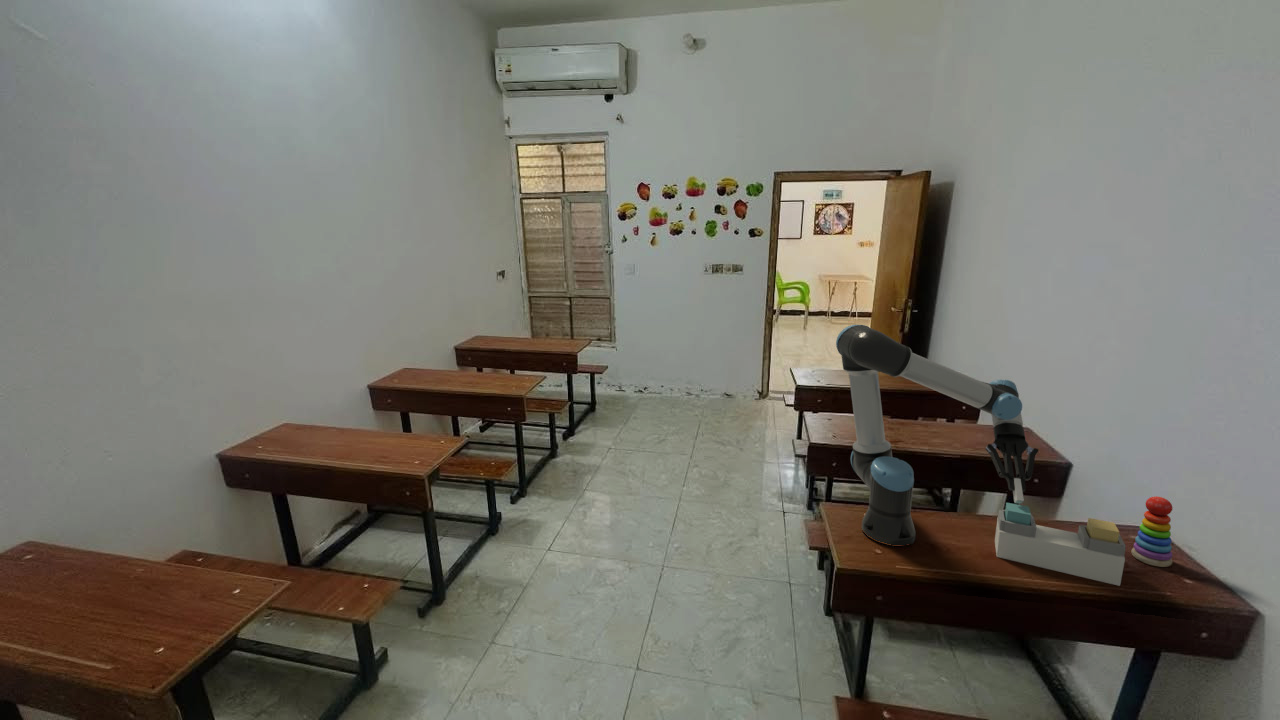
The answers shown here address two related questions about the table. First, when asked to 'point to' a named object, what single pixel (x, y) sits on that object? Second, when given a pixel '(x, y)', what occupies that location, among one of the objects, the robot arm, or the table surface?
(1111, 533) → the mustard button
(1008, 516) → the teal button
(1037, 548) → the button console
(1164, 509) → the stacking toy
